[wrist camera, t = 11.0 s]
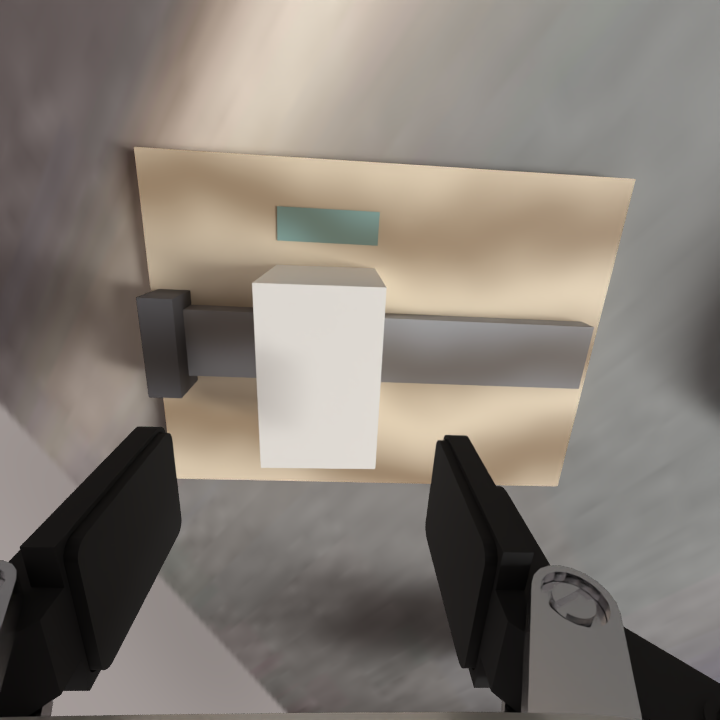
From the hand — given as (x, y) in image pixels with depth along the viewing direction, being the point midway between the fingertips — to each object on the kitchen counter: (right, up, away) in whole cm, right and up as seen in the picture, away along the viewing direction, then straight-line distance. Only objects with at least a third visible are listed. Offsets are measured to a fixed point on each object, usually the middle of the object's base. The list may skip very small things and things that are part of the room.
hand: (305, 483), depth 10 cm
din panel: (+2, +4, +13) cm, 14 cm away
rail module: (-1, +4, +12) cm, 12 cm away
